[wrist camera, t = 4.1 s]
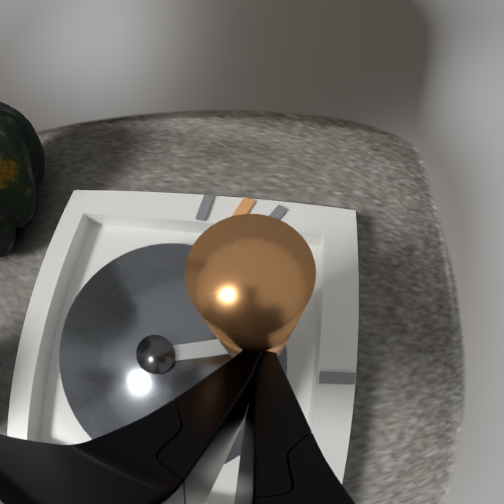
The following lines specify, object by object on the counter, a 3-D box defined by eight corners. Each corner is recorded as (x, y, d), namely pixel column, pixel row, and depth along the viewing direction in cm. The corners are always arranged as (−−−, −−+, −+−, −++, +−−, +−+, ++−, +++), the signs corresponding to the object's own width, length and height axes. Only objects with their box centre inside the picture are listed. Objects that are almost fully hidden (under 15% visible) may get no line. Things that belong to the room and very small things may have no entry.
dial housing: (319, 530, 11) (328, 548, 8) (27, 450, 12) (4, 452, 10) (346, 230, 20) (356, 208, 17) (87, 207, 21) (72, 188, 19)
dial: (306, 454, 12) (377, 531, 3) (81, 465, 12) (-47, 486, 3) (259, 234, 18) (259, 91, 9) (70, 268, 17) (-24, 177, 8)
